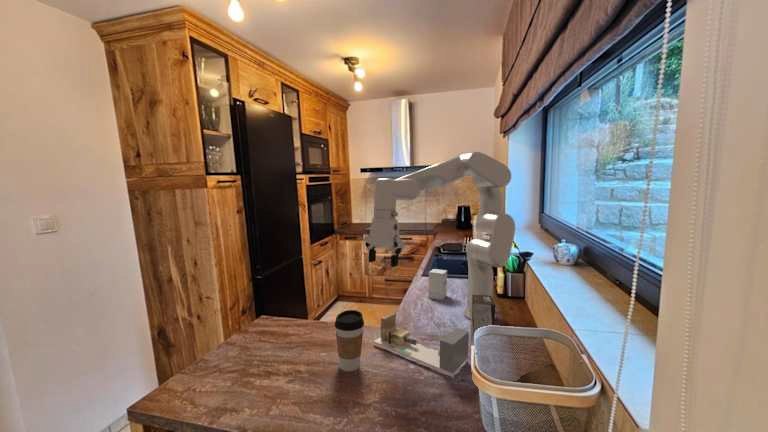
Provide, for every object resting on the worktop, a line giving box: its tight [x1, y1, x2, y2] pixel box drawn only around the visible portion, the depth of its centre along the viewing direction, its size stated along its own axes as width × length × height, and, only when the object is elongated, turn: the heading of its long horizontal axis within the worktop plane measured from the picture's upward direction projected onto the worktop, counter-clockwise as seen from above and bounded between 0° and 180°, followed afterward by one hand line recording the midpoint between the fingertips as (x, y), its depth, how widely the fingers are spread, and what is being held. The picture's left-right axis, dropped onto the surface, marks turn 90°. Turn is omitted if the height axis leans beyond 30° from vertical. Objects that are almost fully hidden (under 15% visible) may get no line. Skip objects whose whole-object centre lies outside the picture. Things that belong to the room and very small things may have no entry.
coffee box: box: [470, 295, 496, 343], centre depth 97 cm, size 9×6×16 cm
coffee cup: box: [334, 309, 365, 372], centre depth 87 cm, size 8×8×15 cm
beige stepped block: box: [380, 312, 417, 346], centre depth 97 cm, size 12×8×7 cm, turn 51°
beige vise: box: [373, 327, 470, 376], centre depth 94 cm, size 28×10×10 cm, turn 51°
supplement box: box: [427, 268, 448, 301], centre depth 144 cm, size 7×7×13 cm
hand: (382, 263), depth 105 cm, fingers open, 9 cm apart
